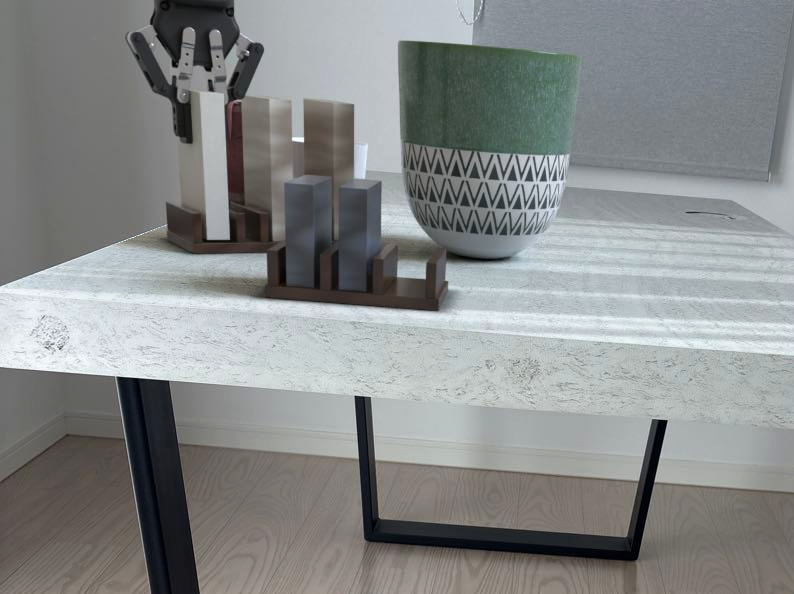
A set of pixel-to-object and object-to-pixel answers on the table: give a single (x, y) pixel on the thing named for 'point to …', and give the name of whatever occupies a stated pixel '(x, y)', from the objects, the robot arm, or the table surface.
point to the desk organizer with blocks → (345, 251)
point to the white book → (206, 165)
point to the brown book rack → (274, 173)
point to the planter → (485, 142)
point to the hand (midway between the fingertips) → (201, 142)
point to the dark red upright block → (235, 153)
